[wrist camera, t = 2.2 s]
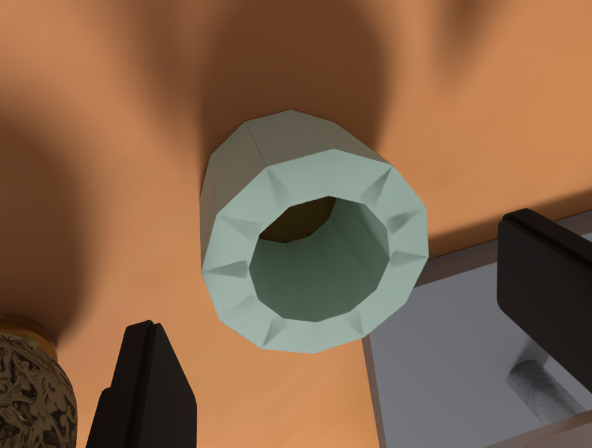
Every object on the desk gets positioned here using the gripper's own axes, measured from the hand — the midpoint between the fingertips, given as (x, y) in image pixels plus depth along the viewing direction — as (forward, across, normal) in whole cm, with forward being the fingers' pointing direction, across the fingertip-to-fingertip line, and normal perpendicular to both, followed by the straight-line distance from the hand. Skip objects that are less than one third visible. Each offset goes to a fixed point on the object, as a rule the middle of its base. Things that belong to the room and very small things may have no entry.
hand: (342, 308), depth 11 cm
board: (+6, -10, +12) cm, 17 cm away
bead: (+6, 0, -1) cm, 6 cm away
